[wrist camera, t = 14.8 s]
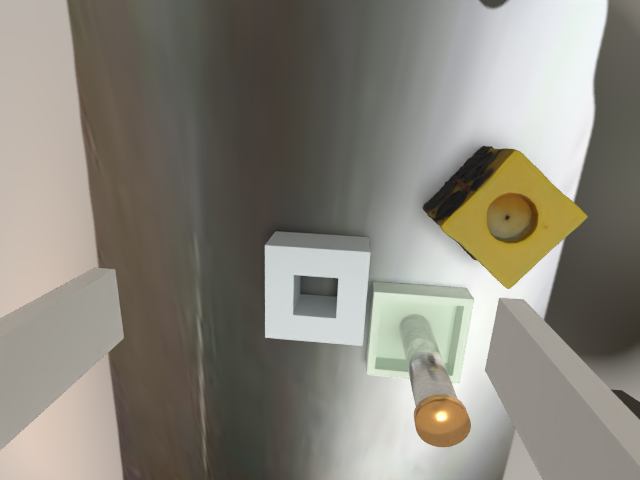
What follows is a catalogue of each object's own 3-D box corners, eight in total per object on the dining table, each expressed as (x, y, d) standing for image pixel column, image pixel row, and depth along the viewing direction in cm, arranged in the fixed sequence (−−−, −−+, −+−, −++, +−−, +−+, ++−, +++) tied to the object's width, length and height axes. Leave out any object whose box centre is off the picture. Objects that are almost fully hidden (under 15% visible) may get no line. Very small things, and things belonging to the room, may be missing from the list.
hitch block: (275, 231, 49) (264, 245, 43) (368, 237, 48) (370, 252, 42) (275, 314, 52) (265, 337, 46) (362, 321, 51) (362, 345, 46)
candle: (478, 260, 47) (508, 293, 38) (419, 208, 46) (435, 229, 37) (543, 199, 45) (593, 219, 35) (482, 143, 43) (517, 147, 34)
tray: (372, 281, 49) (373, 291, 46) (466, 288, 48) (474, 299, 45) (365, 360, 53) (366, 374, 50) (453, 367, 52) (459, 383, 49)
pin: (398, 310, 50) (418, 400, 33) (435, 313, 49) (474, 406, 33) (394, 342, 51) (412, 444, 35) (430, 345, 51) (466, 449, 34)
